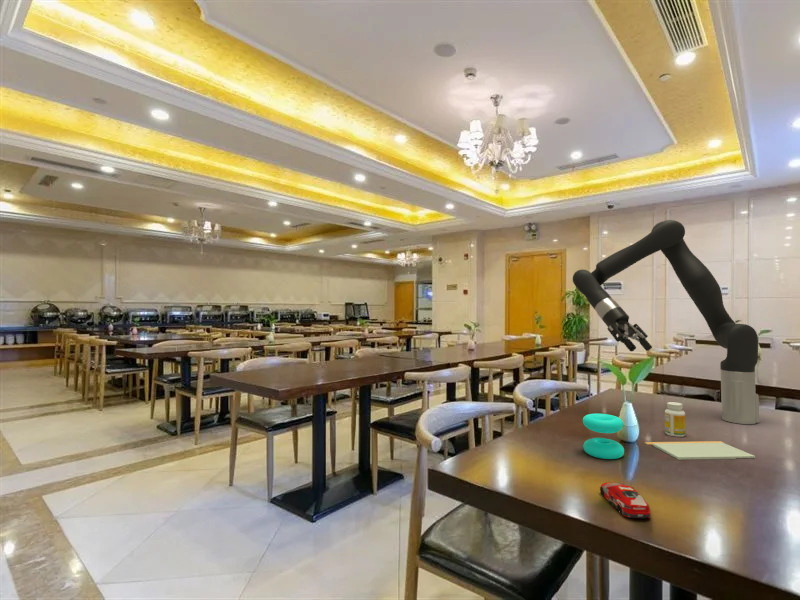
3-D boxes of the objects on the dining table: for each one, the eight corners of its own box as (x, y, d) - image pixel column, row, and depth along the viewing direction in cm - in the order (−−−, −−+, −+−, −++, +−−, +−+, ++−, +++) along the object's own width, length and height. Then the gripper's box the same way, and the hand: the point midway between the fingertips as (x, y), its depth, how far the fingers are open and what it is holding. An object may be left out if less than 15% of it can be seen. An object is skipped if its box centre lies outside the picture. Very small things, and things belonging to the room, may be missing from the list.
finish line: (720, 442, 122) (720, 441, 122) (724, 443, 121) (724, 442, 121) (644, 443, 122) (644, 442, 122) (647, 444, 121) (647, 443, 121)
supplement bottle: (662, 434, 130) (661, 403, 130) (668, 431, 134) (667, 400, 134) (682, 438, 126) (681, 406, 126) (688, 434, 130) (687, 403, 130)
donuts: (628, 416, 114) (617, 424, 107) (629, 453, 114) (618, 463, 107) (589, 410, 121) (577, 417, 114) (590, 445, 121) (577, 454, 114)
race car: (596, 491, 92) (596, 473, 92) (622, 492, 91) (622, 473, 91) (624, 522, 78) (624, 500, 78) (655, 523, 78) (654, 501, 78)
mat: (722, 444, 120) (722, 442, 120) (755, 458, 109) (755, 456, 109) (652, 445, 120) (652, 443, 120) (678, 459, 109) (678, 457, 109)
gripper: (605, 305, 144) (636, 342, 134) (631, 306, 150) (663, 342, 140) (591, 320, 148) (620, 357, 138) (617, 320, 155) (646, 355, 145)
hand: (641, 349), depth 139 cm, fingers open, 8 cm apart
